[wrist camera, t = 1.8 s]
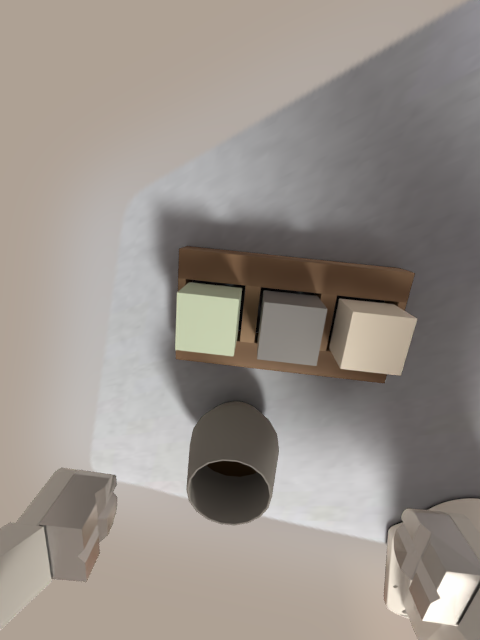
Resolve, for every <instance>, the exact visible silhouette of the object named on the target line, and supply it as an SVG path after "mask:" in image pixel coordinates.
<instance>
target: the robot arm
mask: <svg viewBox="0 0 480 640" xmlns="http://www.w3.org/2000/svg"><path fill="white" fill-rule="evenodd" d="M116 485H117V482H116V476H115V475H112V474H105V473H98V472H91V471H83V470H75V469H68V468H60V469H59V470H57V471H56V472H55V473H54V474H53V475H52V477H51V478H50V479H49V481H48V482H47V483H46V484H45V486H44V487H43V488H42V489H41V491H40V492H39V493H38V495H37V496H36V497H35V498H34V500H33V501H32V502H31V504H30V505H29V506H28V508H27V509H26V510H25V511H24V513H23V514H22V515H21V517H20V518H19V519H18V520H17V522H16V523H8V524H7V525H5V526H3V527H2V528H0V630H1V629H2V628H3V627H4V626H5V625H6V624H7V623H9V621H11V620H12V619H13V618H14V617H15V616H16V615H17V614H18V613H19V612H20V611H21V610H22V609H23V608H24V607H25V606H26V605H27V604H28V603H30V602H31V601H32V600H33V599H34V598H35V597H36V596H37V595H38V594H39V593H40V592H41V591H42V590H43V589H44V588H45V587H47V586H48V585H49V584H50V583H51V582H52V579H58V580H71V581H83V582H87V580H88V578H89V575H90V574H91V571H92V569H93V567H94V564H95V563H96V560H97V558H98V556H99V554H100V549H99V542H100V541H102V540H103V539H104V538H105V537H106V536H108V534H109V532H110V529H111V527H112V525H113V521H114V517H115V514H116V510H117V496H116V495H115V494H114V492H113V491H114V489H115V487H116ZM401 519H402V521H403V522H402V523H399V524H396V525H394V526H392V527H391V528H390V529H389V531H388V541H387V556H386V572H385V586H384V601H385V604H386V606H387V608H388V609H389V610H391V611H392V612H394V613H396V614H398V615H400V616H402V617H405V618H408V619H409V620H410V622H411V625H412V627H413V630H414V632H415V634H416V636H417V638H418V640H480V499H475V498H467V499H457V500H452V501H448V502H444V503H441V504H439V505H436V506H434V507H432V508H430V509H428V510H422V509H412V508H407V509H406V510H404V511H403V514H402V516H401Z"/></svg>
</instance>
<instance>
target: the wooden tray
mask: <svg viewBox="0 0 480 640" xmlns="http://www.w3.org/2000/svg"><path fill="white" fill-rule="evenodd" d="M414 275H415V273H413V272H410V271H407V270H404V269H401V268H393V267H383V266H373V265H364V264H354V263H345V262H335V261H326V260H316V259H306V258H297V257H287V256H278V255H268V254H258V253H249V252H239V251H230V250H220V249H210V248H201V247H191V246H185V247H182V248H179V269H178V291H179V290H181V289H182V288H183V287H184V286H185V285H186V284H188V283H189V282H192V280H199V281H209V282H218V283H227V284H237V285H246V287H245V297H244V307H243V316H242V326H241V331H238V335H237V342H236V347H235V352H234V357H233V356H225V355H216V354H207V353H199V352H190V351H181V350H176V359H179V360H187V361H196V362H205V363H213V364H222V365H231V366H239V367H248V368H256V369H265V370H274V371H282V372H291V373H299V374H308V375H317V376H325V377H334V378H343V379H351V380H360V381H368V382H377V383H385V380H386V376H387V374H381V373H372V372H364V371H355V370H346V369H340V367H339V365H338V364H337V362H336V360H335V358H334V356H333V354H332V352H331V351H330V349H329V346H330V341H328V338H329V333H330V328H331V323H332V318H333V313H334V308H335V303H336V298H337V295H339V296H348V297H357V298H367V299H376V300H385V301H384V303H387V304H394V305H396V306H398V307H399V308H401V309H402V310H404V311H405V308H406V304H407V300H408V297H409V293H410V290H411V286H412V282H413V279H414ZM261 287H264V288H274V289H283V290H292V291H302V292H311V293H315V296H318V297H319V299H320V300H321V301H322V303H323V304H324V305H325V306H326V308H327V314H326V319H325V324H324V329H323V335H322V340H321V345H320V350H319V355H318V360H317V366H312V365H303V364H294V363H286V362H277V361H268V360H260V359H257V341H258V333H255V332H256V323H257V315H258V306H259V298H260V290H261Z"/></svg>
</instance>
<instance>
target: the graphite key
mask: <svg viewBox="0 0 480 640" xmlns="http://www.w3.org/2000/svg"><path fill="white" fill-rule="evenodd" d="M326 314H327V308H326V306H325V305H324V304H323V303H322V301H321V300H320V299H319V297H318V296H313V295H304V294H294V293H285V292H276V291H267V290H264V291H263V299H262V308H261V316H260V324H259V332H258V341H257V359H260V360H268V361H277V362H286V363H294V364H303V365H312V366H317V360H318V355H319V350H320V345H321V340H322V335H323V329H324V324H325V319H326Z"/></svg>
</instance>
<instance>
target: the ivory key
mask: <svg viewBox="0 0 480 640" xmlns="http://www.w3.org/2000/svg"><path fill="white" fill-rule="evenodd" d="M416 322H417V318H415V317H414V316H412V315H410V314H409V313H407V312H406V311H404V310H402V309H401V308H399V307H398V306H396V305H394V304H387V303H378V302H368V301H359V300H350V299H341V298H339V302H338V307H337V312H336V317H335V321H334V326H333V331H332V336H331V341H330V346H329V349H330V351H331V352H332V354H333V356H334V358H335V360H336V362H337V364H338V365H339V367H340V369H346V370H355V371H364V372H372V373H381V374H390V375H399V376H401V373H402V370H403V366H404V363H405V359H406V356H407V353H408V349H409V346H410V342H411V339H412V336H413V332H414V329H415V325H416Z"/></svg>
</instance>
